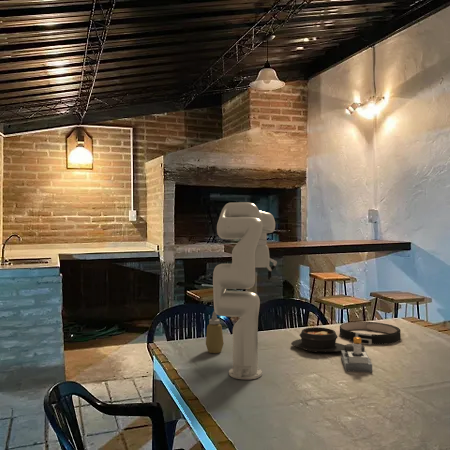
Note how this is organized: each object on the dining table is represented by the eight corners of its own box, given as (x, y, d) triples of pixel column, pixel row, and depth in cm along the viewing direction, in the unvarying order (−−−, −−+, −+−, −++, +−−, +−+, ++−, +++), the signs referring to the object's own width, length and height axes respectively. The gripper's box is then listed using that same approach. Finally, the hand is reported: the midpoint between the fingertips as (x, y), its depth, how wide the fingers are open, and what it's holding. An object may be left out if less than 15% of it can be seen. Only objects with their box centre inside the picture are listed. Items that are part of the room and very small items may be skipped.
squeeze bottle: (224, 349, 209) (224, 310, 209) (222, 354, 201) (222, 313, 201) (207, 349, 210) (206, 309, 210) (204, 354, 202) (204, 313, 202)
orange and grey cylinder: (361, 362, 180) (361, 339, 180) (354, 361, 180) (353, 338, 180) (360, 359, 183) (360, 337, 182) (353, 359, 183) (353, 336, 183)
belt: (332, 340, 224) (332, 330, 223) (346, 327, 250) (346, 318, 250) (396, 348, 210) (396, 337, 210) (404, 333, 236) (403, 323, 236)
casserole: (284, 350, 206) (284, 332, 206) (299, 341, 223) (299, 323, 222) (340, 358, 194) (340, 339, 194) (351, 348, 210) (351, 329, 210)
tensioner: (372, 372, 177) (372, 355, 177) (345, 371, 178) (345, 354, 178) (365, 358, 194) (365, 342, 194) (341, 357, 196) (341, 341, 196)
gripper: (239, 243, 215) (239, 280, 215) (276, 243, 213) (277, 280, 213) (241, 242, 223) (241, 278, 223) (277, 242, 220) (277, 278, 220)
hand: (258, 279), depth 218 cm, fingers open, 9 cm apart
